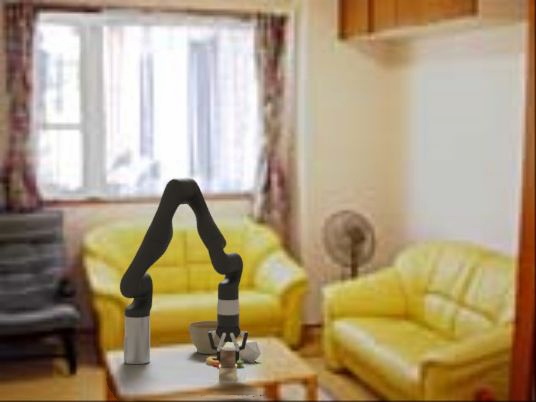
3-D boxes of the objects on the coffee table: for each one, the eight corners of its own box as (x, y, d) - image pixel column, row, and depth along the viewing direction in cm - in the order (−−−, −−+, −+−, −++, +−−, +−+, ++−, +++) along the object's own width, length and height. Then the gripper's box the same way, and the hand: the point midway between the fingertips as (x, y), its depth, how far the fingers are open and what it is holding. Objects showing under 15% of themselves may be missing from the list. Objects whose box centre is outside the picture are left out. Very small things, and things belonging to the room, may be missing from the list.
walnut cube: (220, 365, 286) (220, 350, 286) (220, 361, 291) (220, 347, 291) (235, 365, 286) (235, 350, 286) (235, 361, 291) (235, 347, 291)
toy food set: (203, 365, 312) (203, 356, 312) (237, 362, 317) (237, 353, 316) (214, 373, 299) (214, 364, 299) (249, 370, 304) (249, 361, 304)
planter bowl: (238, 351, 332) (238, 324, 331) (208, 358, 320) (208, 330, 320) (210, 345, 343) (210, 318, 343) (180, 351, 331) (180, 324, 331)
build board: (209, 385, 283) (209, 382, 283) (210, 376, 295) (210, 373, 295) (245, 385, 283) (245, 382, 283) (245, 376, 295) (245, 373, 295)
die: (264, 362, 318) (255, 339, 322) (262, 356, 310) (252, 332, 315) (243, 370, 317) (234, 347, 322) (241, 364, 310) (232, 340, 314)
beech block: (218, 380, 286) (218, 368, 286) (219, 375, 292) (219, 364, 292) (236, 380, 286) (236, 368, 286) (236, 375, 292) (236, 364, 292)
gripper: (206, 314, 284) (206, 364, 285) (249, 314, 284) (249, 364, 285) (207, 310, 291) (207, 359, 292) (249, 310, 292) (249, 359, 293)
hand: (228, 361), depth 289 cm, fingers closed on walnut cube, 5 cm apart
